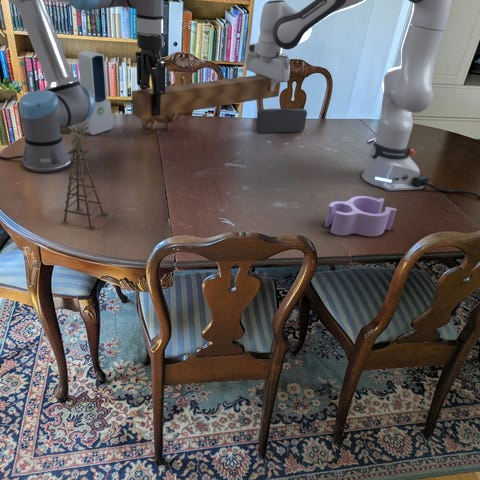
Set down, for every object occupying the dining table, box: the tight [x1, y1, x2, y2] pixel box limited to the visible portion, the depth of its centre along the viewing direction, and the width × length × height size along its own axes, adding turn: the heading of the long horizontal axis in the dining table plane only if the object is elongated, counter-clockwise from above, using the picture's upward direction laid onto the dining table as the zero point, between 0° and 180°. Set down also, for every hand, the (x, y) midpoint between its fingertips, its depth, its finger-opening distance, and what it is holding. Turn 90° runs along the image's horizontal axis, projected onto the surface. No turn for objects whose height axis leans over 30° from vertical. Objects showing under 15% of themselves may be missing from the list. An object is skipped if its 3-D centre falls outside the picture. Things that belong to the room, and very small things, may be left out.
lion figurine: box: [142, 113, 178, 132], centre depth 195 cm, size 15×5×9 cm, turn 110°
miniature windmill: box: [59, 115, 105, 229], centre depth 124 cm, size 9×8×30 cm
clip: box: [324, 195, 398, 237], centre depth 141 cm, size 20×12×7 cm, turn 109°
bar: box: [131, 74, 282, 120], centre depth 161 cm, size 60×5×7 cm, turn 131°
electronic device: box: [77, 49, 114, 136], centre depth 182 cm, size 12×8×30 cm, turn 148°
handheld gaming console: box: [255, 108, 308, 134], centre depth 206 cm, size 23×3×10 cm, turn 108°
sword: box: [367, 137, 376, 144], centre depth 215 cm, size 31×3×1 cm, turn 126°
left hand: (151, 112), depth 148 cm, fingers closed on bar, 5 cm apart
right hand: (265, 88), depth 176 cm, fingers closed on bar, 5 cm apart
